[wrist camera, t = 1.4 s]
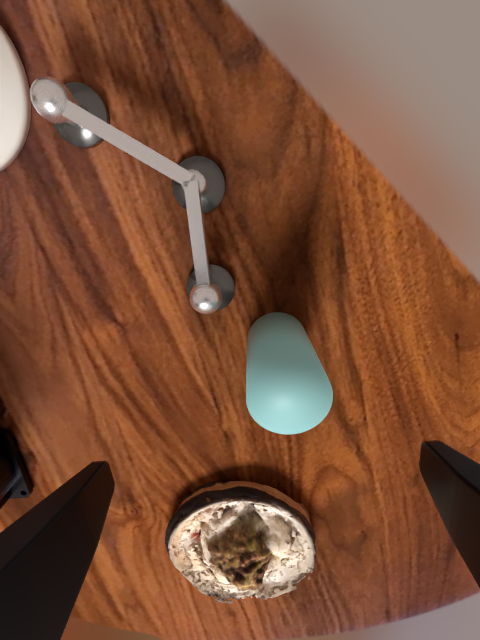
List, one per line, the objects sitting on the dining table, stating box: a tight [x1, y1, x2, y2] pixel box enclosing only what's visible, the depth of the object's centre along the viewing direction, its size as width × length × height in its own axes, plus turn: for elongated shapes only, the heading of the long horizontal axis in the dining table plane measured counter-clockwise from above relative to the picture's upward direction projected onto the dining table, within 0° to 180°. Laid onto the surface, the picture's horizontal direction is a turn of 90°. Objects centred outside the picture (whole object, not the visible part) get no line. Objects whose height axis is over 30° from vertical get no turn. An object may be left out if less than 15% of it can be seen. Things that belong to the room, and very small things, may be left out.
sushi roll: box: [165, 481, 316, 604], centre depth 25 cm, size 15×15×4 cm
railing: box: [30, 76, 235, 314], centre depth 17 cm, size 13×9×4 cm
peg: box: [246, 312, 333, 434], centre depth 18 cm, size 4×4×7 cm
